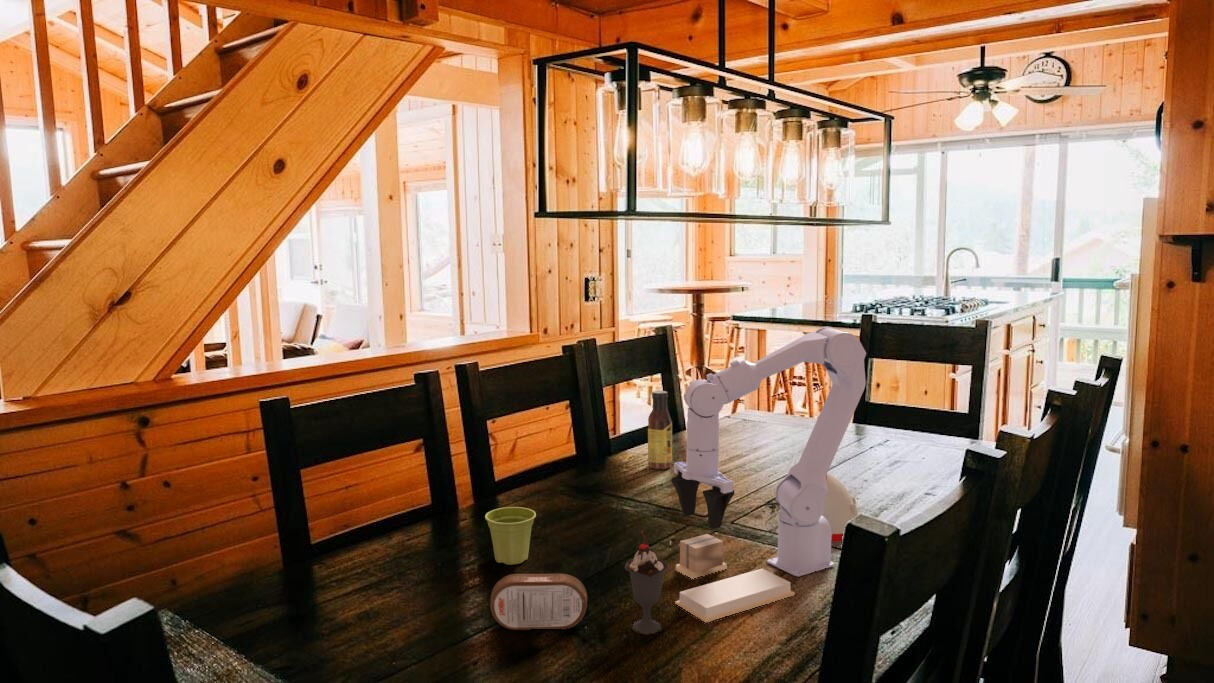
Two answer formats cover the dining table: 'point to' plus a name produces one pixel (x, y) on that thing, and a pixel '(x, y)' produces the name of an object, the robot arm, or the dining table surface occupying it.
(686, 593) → the dock
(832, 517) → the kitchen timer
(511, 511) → the plant pot
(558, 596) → the tin
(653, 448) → the sauce bottle
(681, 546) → the taped parcel
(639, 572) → the sundae
